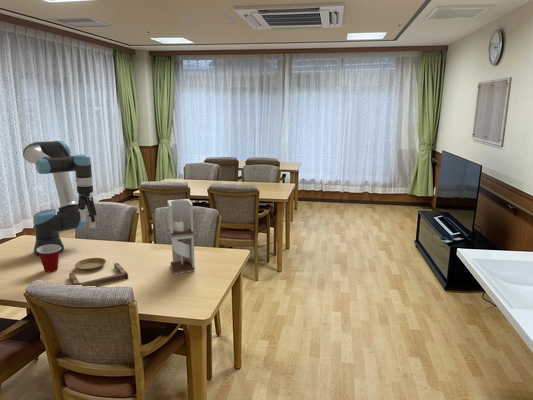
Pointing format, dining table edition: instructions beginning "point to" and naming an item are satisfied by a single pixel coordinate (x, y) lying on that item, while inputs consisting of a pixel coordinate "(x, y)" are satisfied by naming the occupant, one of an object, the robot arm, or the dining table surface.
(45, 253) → the plastic cup
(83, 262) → the plant saucer
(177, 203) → the display case
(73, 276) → the bay
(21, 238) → the dining table surface
